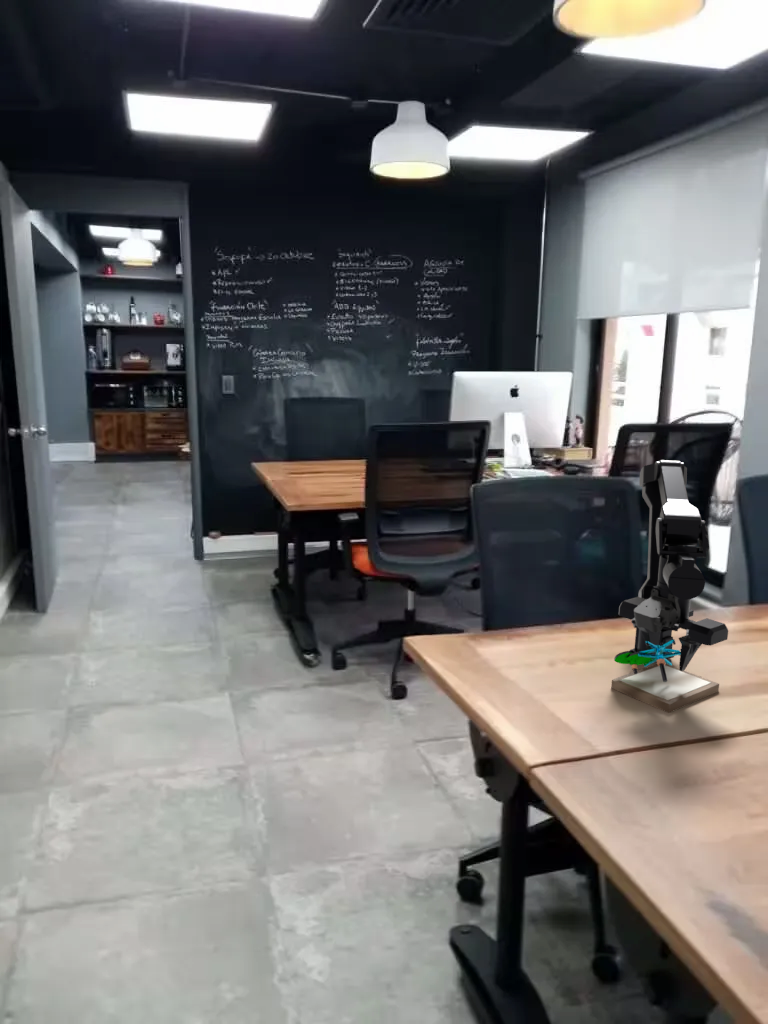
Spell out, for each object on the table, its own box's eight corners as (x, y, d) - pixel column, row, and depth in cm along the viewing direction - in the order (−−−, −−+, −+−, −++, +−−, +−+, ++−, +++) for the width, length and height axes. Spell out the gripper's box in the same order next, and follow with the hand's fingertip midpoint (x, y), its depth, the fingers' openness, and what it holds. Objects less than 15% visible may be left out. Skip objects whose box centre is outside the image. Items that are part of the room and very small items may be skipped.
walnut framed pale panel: (611, 688, 139) (611, 679, 138) (660, 669, 147) (661, 661, 147) (668, 713, 129) (669, 703, 129) (718, 692, 138) (719, 683, 137)
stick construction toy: (684, 650, 138) (676, 631, 133) (693, 685, 134) (685, 667, 129) (618, 662, 143) (608, 644, 137) (624, 697, 139) (614, 680, 133)
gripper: (602, 576, 137) (596, 657, 140) (696, 604, 122) (687, 694, 125) (640, 567, 143) (634, 645, 147) (734, 592, 129) (724, 678, 132)
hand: (666, 664), depth 137 cm, fingers closed on stick construction toy, 6 cm apart
